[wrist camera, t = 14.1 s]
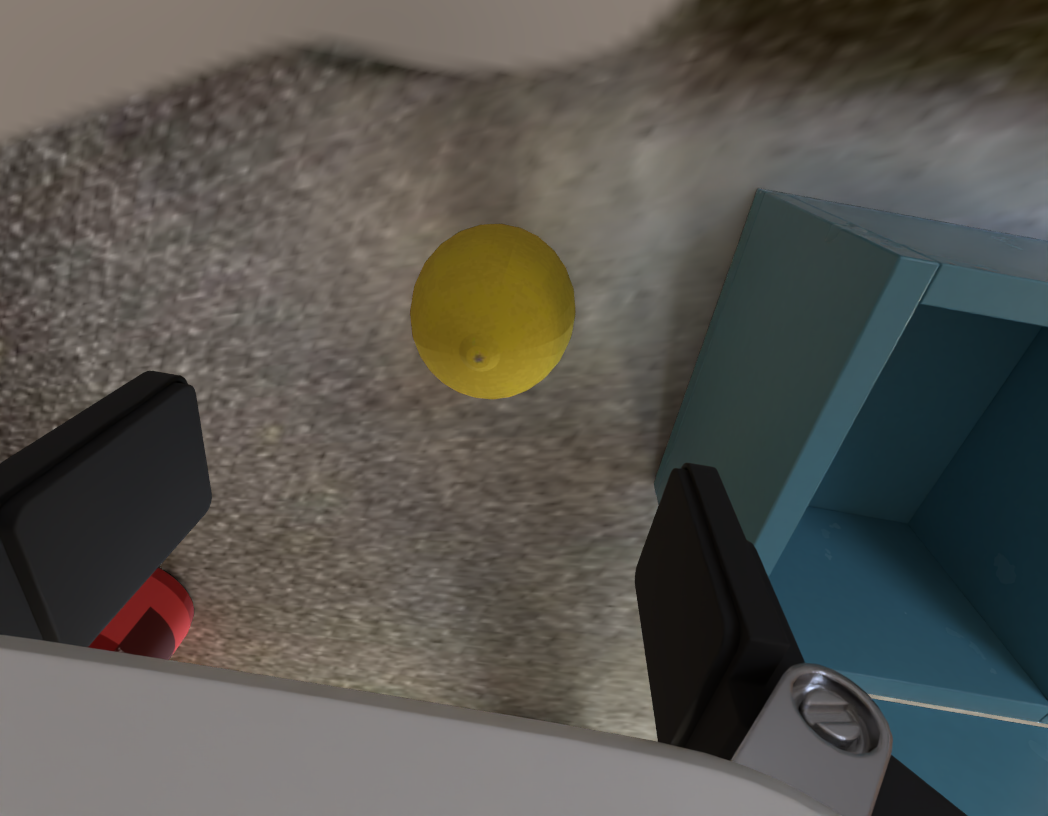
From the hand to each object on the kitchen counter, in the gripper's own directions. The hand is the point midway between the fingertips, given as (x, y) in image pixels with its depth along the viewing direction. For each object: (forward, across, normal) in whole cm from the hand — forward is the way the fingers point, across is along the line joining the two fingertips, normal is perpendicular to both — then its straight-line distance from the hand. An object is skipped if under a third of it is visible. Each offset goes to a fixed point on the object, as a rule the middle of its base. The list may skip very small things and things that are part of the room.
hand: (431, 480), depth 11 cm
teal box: (+13, -15, +2) cm, 20 cm away
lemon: (+14, 0, 0) cm, 14 cm away
